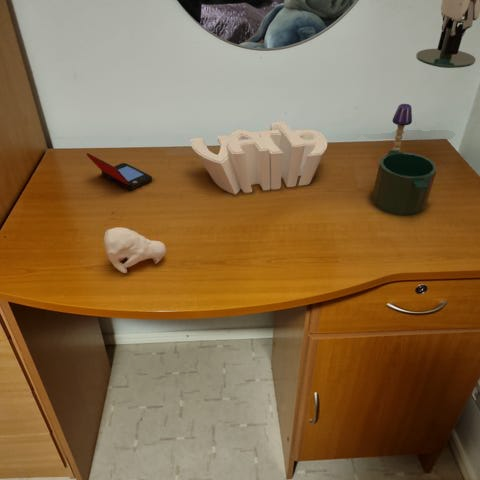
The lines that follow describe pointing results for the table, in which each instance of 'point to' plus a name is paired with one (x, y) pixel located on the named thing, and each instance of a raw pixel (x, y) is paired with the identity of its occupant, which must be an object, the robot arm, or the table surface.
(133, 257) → the beige lumpy figure
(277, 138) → the wavy white extrusion
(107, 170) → the handheld console
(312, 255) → the table surface
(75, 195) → the table surface
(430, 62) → the lid
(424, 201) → the pot
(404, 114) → the toy lamp
